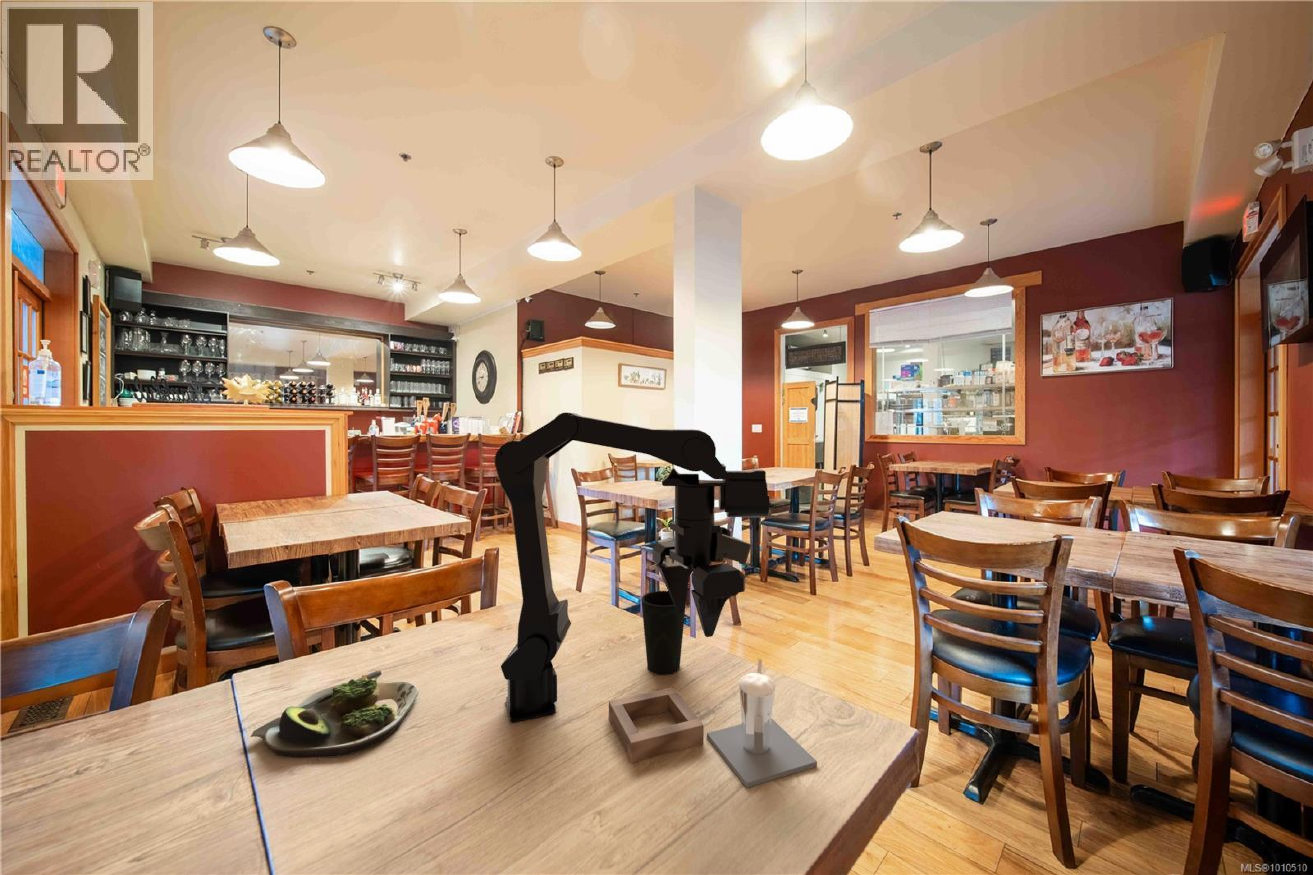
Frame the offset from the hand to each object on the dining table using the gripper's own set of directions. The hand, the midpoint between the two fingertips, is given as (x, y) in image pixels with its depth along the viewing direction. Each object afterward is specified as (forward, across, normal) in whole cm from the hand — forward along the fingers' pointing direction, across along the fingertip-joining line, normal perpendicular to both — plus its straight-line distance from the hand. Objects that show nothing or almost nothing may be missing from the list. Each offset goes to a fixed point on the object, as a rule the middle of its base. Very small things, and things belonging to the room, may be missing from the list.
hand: (694, 623), depth 73 cm
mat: (+13, -11, -4) cm, 17 cm away
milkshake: (+13, -10, -4) cm, 17 cm away
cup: (+13, +14, -1) cm, 19 cm away
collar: (+13, -2, +7) cm, 15 cm away
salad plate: (+14, +16, +47) cm, 52 cm away
